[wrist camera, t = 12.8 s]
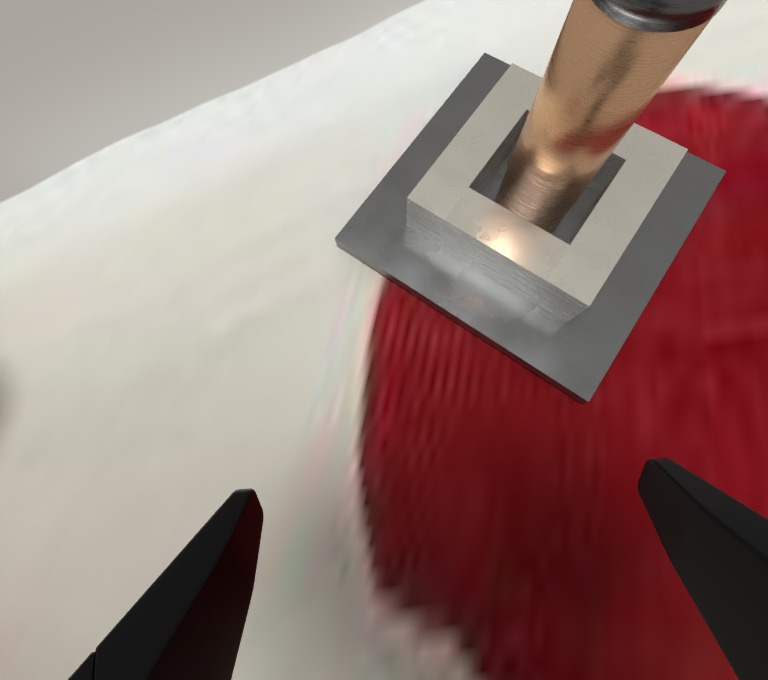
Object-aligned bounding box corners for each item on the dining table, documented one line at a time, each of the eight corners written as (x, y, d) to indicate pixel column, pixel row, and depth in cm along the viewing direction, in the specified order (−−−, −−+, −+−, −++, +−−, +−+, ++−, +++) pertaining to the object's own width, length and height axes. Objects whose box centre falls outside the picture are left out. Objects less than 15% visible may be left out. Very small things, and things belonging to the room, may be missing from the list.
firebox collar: (713, 181, 25) (769, 135, 22) (580, 403, 22) (617, 396, 18) (482, 65, 29) (494, 7, 25) (337, 245, 26) (325, 211, 22)
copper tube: (578, 222, 24) (806, -55, 10) (512, 247, 24) (660, -4, 10) (545, 165, 25) (713, -152, 12) (482, 189, 25) (579, -107, 11)
